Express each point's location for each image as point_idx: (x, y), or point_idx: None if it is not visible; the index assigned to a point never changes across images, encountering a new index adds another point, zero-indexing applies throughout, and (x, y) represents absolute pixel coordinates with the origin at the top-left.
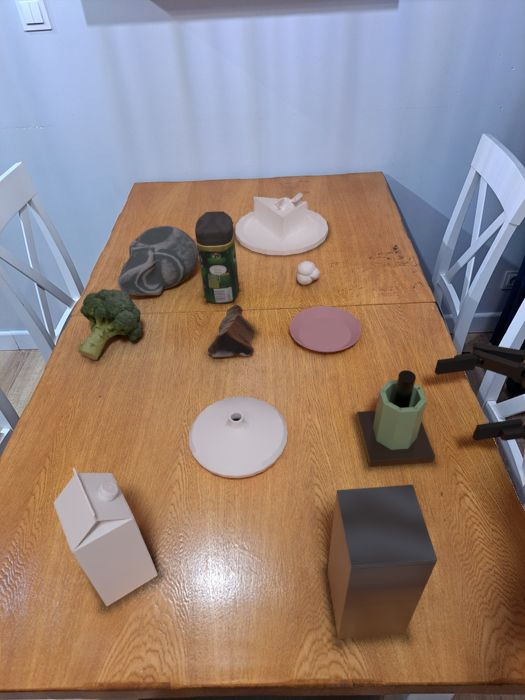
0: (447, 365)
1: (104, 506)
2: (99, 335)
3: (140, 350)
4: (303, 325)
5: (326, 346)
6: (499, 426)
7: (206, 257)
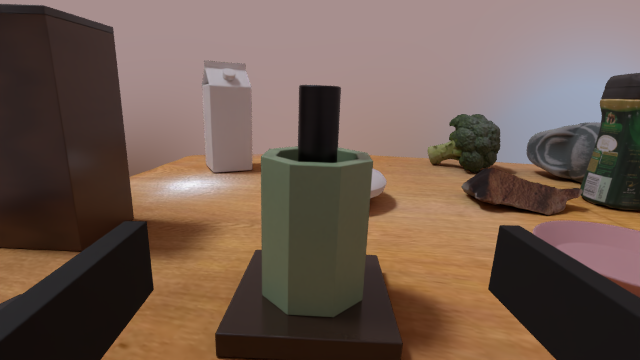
0: (521, 265)
1: (217, 73)
2: (446, 144)
3: (456, 174)
4: (622, 250)
5: None
6: (66, 267)
7: (601, 121)
